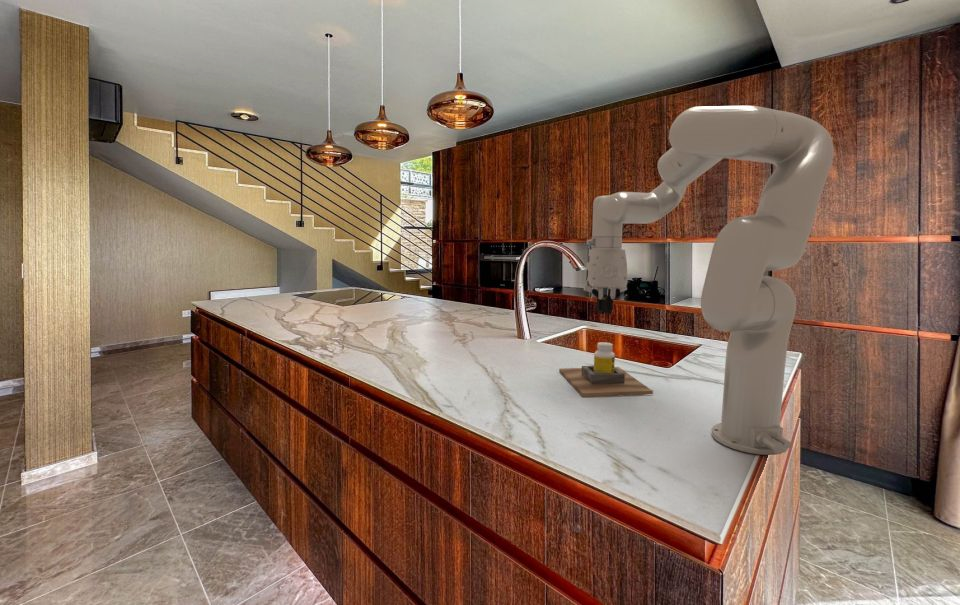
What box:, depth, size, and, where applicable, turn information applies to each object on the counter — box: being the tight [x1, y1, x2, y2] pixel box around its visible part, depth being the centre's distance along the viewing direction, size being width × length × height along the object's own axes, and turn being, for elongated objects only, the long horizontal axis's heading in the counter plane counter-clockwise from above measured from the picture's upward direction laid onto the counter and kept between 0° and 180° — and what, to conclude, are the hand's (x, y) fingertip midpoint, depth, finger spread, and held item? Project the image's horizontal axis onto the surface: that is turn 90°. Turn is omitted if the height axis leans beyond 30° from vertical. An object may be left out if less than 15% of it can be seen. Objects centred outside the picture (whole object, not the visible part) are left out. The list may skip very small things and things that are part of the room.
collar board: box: [558, 365, 654, 398], centre depth 122 cm, size 22×18×4 cm
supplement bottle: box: [593, 341, 616, 374], centre depth 122 cm, size 5×5×10 cm
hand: (604, 313), depth 120 cm, fingers closed
